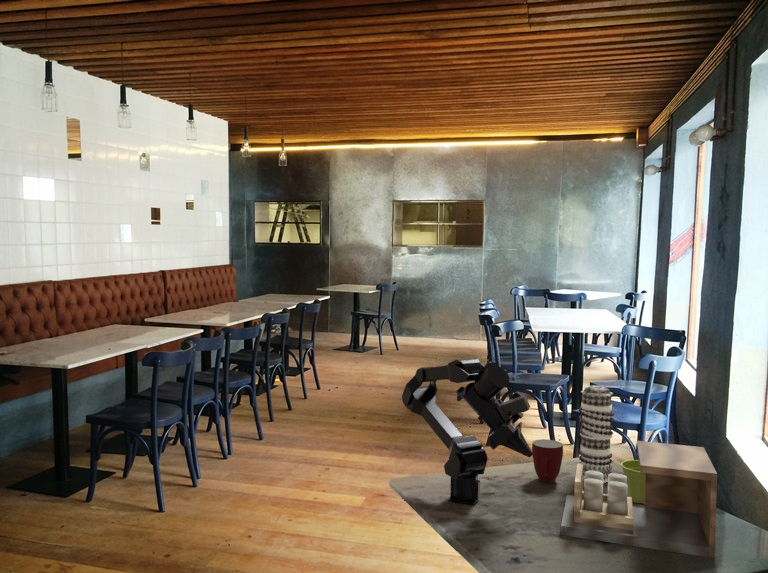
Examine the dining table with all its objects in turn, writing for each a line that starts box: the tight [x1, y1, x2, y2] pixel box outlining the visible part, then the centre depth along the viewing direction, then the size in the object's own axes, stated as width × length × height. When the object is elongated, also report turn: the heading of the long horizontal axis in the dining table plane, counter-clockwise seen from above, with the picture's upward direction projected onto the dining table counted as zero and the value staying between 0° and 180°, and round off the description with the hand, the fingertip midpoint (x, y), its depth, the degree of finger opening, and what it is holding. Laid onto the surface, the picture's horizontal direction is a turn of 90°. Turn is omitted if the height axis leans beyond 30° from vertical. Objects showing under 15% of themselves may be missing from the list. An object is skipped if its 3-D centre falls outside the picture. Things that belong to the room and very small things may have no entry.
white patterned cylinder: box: [578, 384, 615, 484], centre depth 169 cm, size 9×9×25 cm
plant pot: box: [620, 459, 645, 505], centre depth 153 cm, size 9×9×9 cm
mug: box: [531, 438, 564, 484], centre depth 165 cm, size 10×8×10 cm
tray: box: [573, 463, 633, 530], centre depth 139 cm, size 12×13×9 cm
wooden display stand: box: [560, 440, 718, 559], centre depth 137 cm, size 30×19×17 cm, turn 70°
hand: (531, 455), depth 144 cm, fingers closed
